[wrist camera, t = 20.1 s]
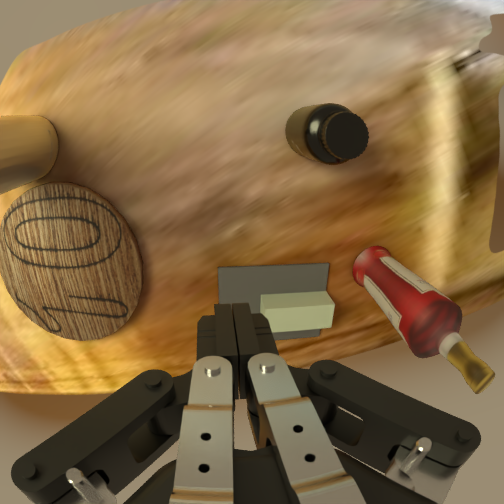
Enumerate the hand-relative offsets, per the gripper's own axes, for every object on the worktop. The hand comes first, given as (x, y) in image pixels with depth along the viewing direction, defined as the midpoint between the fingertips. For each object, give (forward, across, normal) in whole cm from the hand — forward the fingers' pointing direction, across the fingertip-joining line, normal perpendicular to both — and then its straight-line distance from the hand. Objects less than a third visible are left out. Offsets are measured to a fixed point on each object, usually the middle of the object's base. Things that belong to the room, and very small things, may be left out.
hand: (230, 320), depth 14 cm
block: (+27, -6, +17) cm, 32 cm away
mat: (+29, -8, +17) cm, 35 cm away
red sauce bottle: (+29, -23, +11) cm, 39 cm away
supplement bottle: (+29, -12, -8) cm, 33 cm away
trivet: (+30, +23, +10) cm, 39 cm away
